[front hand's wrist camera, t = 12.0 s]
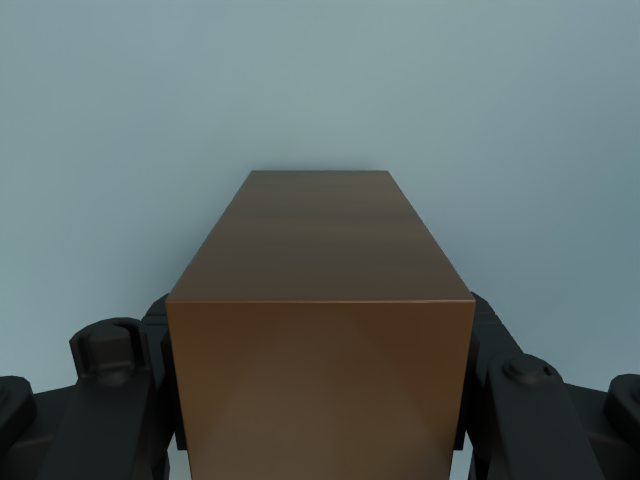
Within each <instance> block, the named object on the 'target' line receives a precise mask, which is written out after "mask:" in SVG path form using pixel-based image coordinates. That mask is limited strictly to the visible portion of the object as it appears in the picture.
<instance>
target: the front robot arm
mask: <svg viewBox="0 0 640 480" xmlns="http://www.w3.org/2000/svg"><path fill="white" fill-rule="evenodd" d="M169 294H170V293H167V294H166V295H164V296H163V297H161V298H160V299H158V300H157V301H155V302H154V303H153V304H152V306H151V307H150V309H149V310H148V311H147V313H146V316H144V317H143V318H142V320H141V321H140V320H137V319H133V318H129V317H124V318H111V319H106V320H101V321H99V322H96V323H93V324H91V325H88V326H86V327H85V328H83V329H82V330H80V331H78V332H77V333H76V334H75V335H74V336H73V337H72V338H71V339H70V341H69V344H70V347H71V351H72V355H73V359H74V363H75V367H76V371H77V375H78V380H77V382H76V385H72V386H69V387H65V388H60V389H56V390H51V391H46V392H41V393H36V394H33V392H32V388H31V385H30V382H28V381H27V380H26V379H25V378H23V377H18V376H3V377H0V480H169V471H170V465H169V458H168V452H167V449H168V446H169V444H170V441H171V439H172V436H173V434H174V431H175V437H176V443H177V449H178V450H187V445H186V438H185V432H184V425H183V418H182V412H181V405H180V398H179V392H178V385H177V378H176V372H175V365H174V358H173V352H172V345H171V338H170V332H169V325H168V319H167V312H166V305H165V300H166V298H167V297H168V295H169ZM471 294H472V295H473V297H474V298H475V300H476V304H475V311H474V318H473V324H472V331H471V337H470V344H469V351H468V357H467V364H466V371H465V377H464V384H463V391H462V397H461V404H460V411H459V417H458V424H457V431H456V437H455V444H454V450H463V444H464V438H465V432H466V431H467V434H468V436H469V438H470V441H471V443H472V446H473V452H472V458H471V464H470V469H469V475H468V480H640V375H636V374H624V375H618V376H616V377H615V378H614V379H613V380H612V381H611V383H610V386H609V390H608V392H603V391H598V390H593V389H589V388H584V387H579V386H575V385H571V384H567V383H564V382H563V379H562V377H561V376H560V375H559V373H558V372H557V370H556V369H555V368H554V367H552V366H551V365H549V364H548V363H547V362H545V361H544V360H541V359H539V358H537V357H535V356H532V355H529V354H525V353H523V351H522V350H521V349H520V347H519V346H518V344H517V343H516V342H515V340H514V339H513V337H512V336H511V335H510V333H509V332H508V330H507V329H506V327H505V326H504V325H503V324H502V322H501V320H500V319H499V318H498V316H497V315H495V312H494V311H493V309H492V308H491V306H490V305H489V304H488V302H487V301H486V300H484V299H483V298H481V297H480V296H478V295H477V294H475V293H474V292H471Z"/></svg>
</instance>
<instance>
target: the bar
mask: <svg viewBox="0 0 640 480" xmlns="http://www.w3.org/2000/svg"><path fill="white" fill-rule="evenodd" d="M475 304H476V300H475V298H474V297H473V295H472V294H471V292H470V291H469V289H468V288H467V286H466V285H465V283H464V282H463V280H462V279H461V278H460V276H459V275H458V273H457V272H456V270H455V269H454V267H453V266H452V264H451V263H450V261H449V260H448V258H447V257H446V256H445V254H444V253H443V251H442V250H441V248H440V247H439V245H438V244H437V242H436V241H435V239H434V238H433V236H432V235H431V233H430V232H429V231H428V229H427V228H426V226H425V225H424V223H423V222H422V220H421V219H420V217H419V216H418V214H417V213H416V211H415V210H414V208H413V207H412V206H411V204H410V203H409V201H408V200H407V198H406V197H405V195H404V194H403V192H402V191H401V189H400V188H399V186H398V185H397V183H396V182H395V181H394V179H393V178H392V176H391V175H390V173H389V172H388V171H251V173H250V174H249V176H248V177H247V179H246V180H245V182H244V183H243V185H242V186H241V188H240V189H239V191H238V192H237V194H236V195H235V197H234V198H233V200H232V201H231V203H230V204H229V206H228V207H227V209H226V210H225V212H224V213H223V215H222V216H221V218H220V219H219V221H218V222H217V224H216V225H215V227H214V228H213V230H212V231H211V233H210V234H209V236H208V237H207V239H206V240H205V241H204V243H203V244H202V246H201V247H200V249H199V250H198V252H197V253H196V255H195V256H194V258H193V259H192V261H191V262H190V264H189V265H188V267H187V268H186V270H185V271H184V273H183V274H182V276H181V277H180V279H179V280H178V282H177V283H176V285H175V286H174V288H173V289H172V291H171V292H170V294H169V295H168V297H167V298H166V300H165V305H166V312H167V319H168V325H169V332H170V338H171V345H172V352H173V358H174V365H175V372H176V378H177V385H178V392H179V398H180V405H181V412H182V418H183V425H184V432H185V438H186V445H187V452H188V458H189V465H190V472H191V478H192V480H449V477H450V470H451V464H452V457H453V451H454V444H455V437H456V431H457V424H458V417H459V411H460V404H461V397H462V391H463V384H464V377H465V371H466V364H467V357H468V351H469V344H470V337H471V331H472V324H473V318H474V311H475Z"/></svg>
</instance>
